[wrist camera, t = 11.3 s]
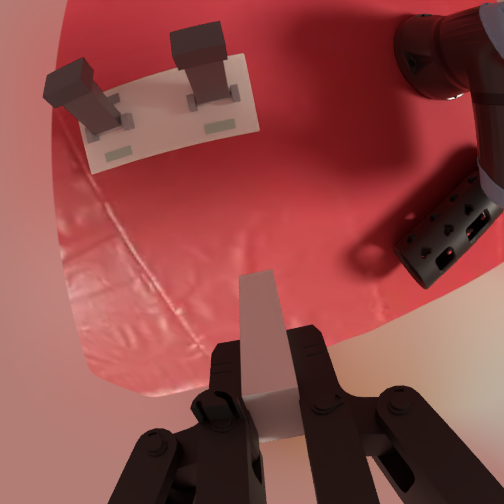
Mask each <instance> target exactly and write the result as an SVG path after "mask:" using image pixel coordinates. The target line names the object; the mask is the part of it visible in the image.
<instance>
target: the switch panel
mask: <svg viewBox="0 0 504 504" xmlns="http://www.w3.org/2000/svg"><path fill="white" fill-rule="evenodd" d="M227 57H228V60H223V62H224V68H225V73H226V79H227V84H228V90H229V95H230V98H225V99H220V100H216V101H211V102H207V103H202V104H198V103H197V100H196V98H195V95H194V93H193V90H192V88H191V85H190V83H189V80H188V78H187V75H186V73H185V70H180V71H178V68H174V69H170V70H167V71H163V72H160V73H156V74H153V75H150V76H147V77H144V78H140V79H137V80H134V81H131V82H129V83H126V84H123V85H120V86H117V87H115V88H112V89H109V90H107V91H104V92H103V93H104V94H105V95H106V96H107V98H108V99H109V100H110V101H111V103H112V104H113V105H114V106H115V107H116V109H117V110H118V111H119V112H120V113H121V115H120V116H121V126H119V127H116V128H113V129H110V130H107V131H105V132H102V133H99V134H96V135H94V134H93V133H92V132H91V131H90V130H89V129H87V128H86V127H85V126H84V125H83V124H82V123H81V122H80V121H79V120H78V122H79V126H80V131H81V135H82V139H83V143H84V147H85V151H86V155H87V159H88V163H89V167H90V170H91V174H92V175H93V174H96V173H99V172H102V171H105V170H108V169H111V168H114V167H117V166H120V165H123V164H127V163H130V162H133V161H136V160H140V159H143V158H147V157H150V156H154V155H157V154H161V153H164V152H168V151H172V150H176V149H180V148H184V147H188V146H192V145H196V144H200V143H204V142H209V141H213V140H218V139H222V138H227V137H232V136H237V135H242V134H247V133H252V132H257V131H260V129H259V124H258V119H257V114H256V109H255V104H254V99H253V94H252V89H251V84H250V79H249V75H248V70H247V65H246V60H245V56H244V53H242V54H236V55H231V56H227Z"/></svg>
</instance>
